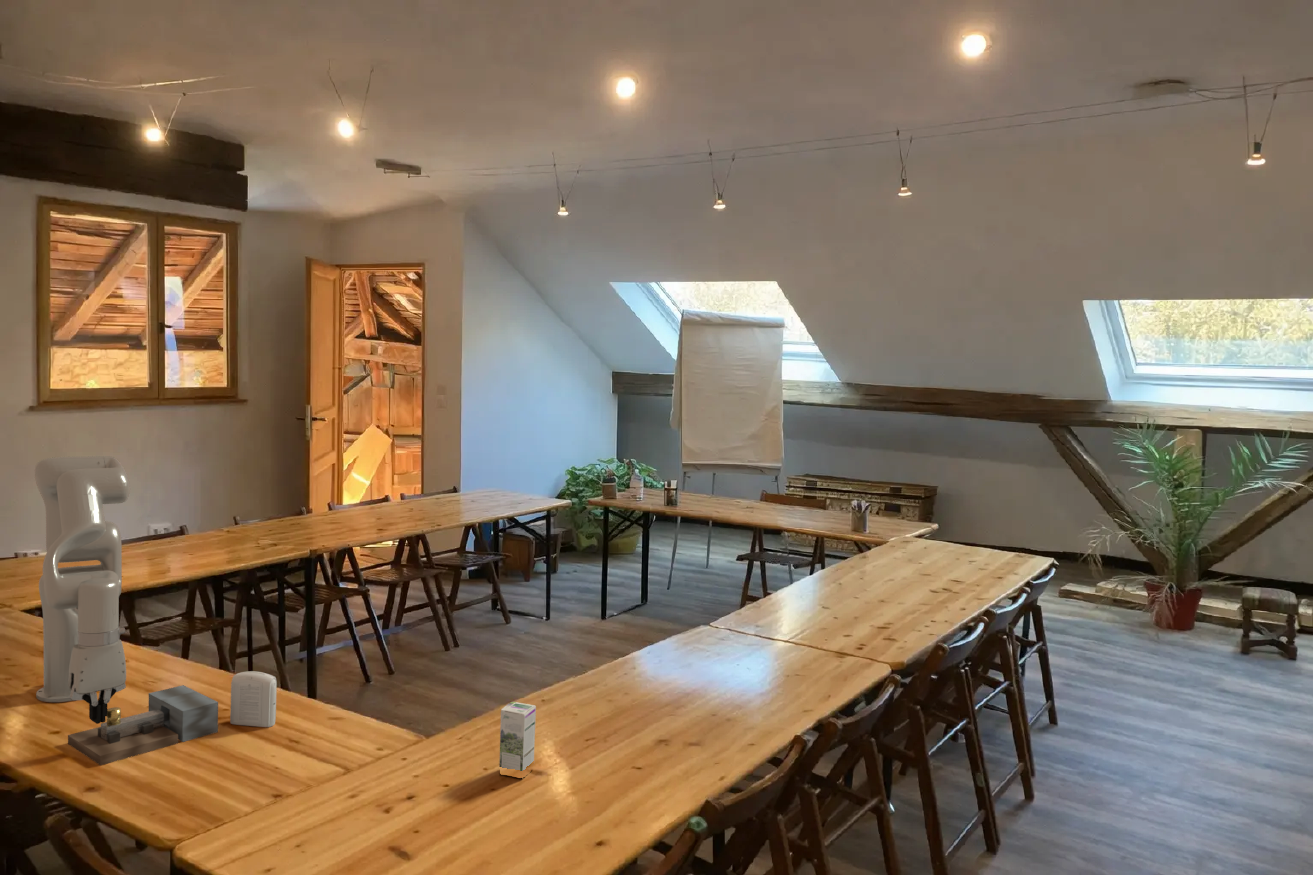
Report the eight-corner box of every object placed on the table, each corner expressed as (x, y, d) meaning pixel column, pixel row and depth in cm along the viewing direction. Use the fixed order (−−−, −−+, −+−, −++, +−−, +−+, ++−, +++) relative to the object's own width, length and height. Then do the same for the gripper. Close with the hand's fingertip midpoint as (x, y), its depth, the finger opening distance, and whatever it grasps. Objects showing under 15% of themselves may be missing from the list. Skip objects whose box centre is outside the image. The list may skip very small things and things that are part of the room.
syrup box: (534, 769, 207) (537, 704, 206) (522, 780, 201) (524, 713, 200) (510, 765, 209) (513, 699, 208) (497, 775, 203) (500, 708, 202)
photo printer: (278, 721, 227) (279, 670, 226) (270, 728, 222) (271, 676, 221) (236, 718, 227) (237, 667, 226) (227, 725, 223) (227, 673, 222)
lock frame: (100, 765, 199) (100, 732, 199) (67, 743, 209) (67, 712, 208) (217, 731, 219) (218, 701, 219) (183, 713, 229) (183, 684, 228)
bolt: (106, 740, 206) (107, 713, 206) (100, 737, 208) (100, 710, 208) (163, 725, 216) (164, 699, 215) (157, 722, 218) (157, 696, 217)
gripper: (127, 626, 213) (127, 707, 214) (52, 640, 201) (52, 725, 202) (142, 634, 208) (142, 716, 209) (66, 648, 196) (67, 735, 198)
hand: (98, 721), depth 206 cm, fingers closed
